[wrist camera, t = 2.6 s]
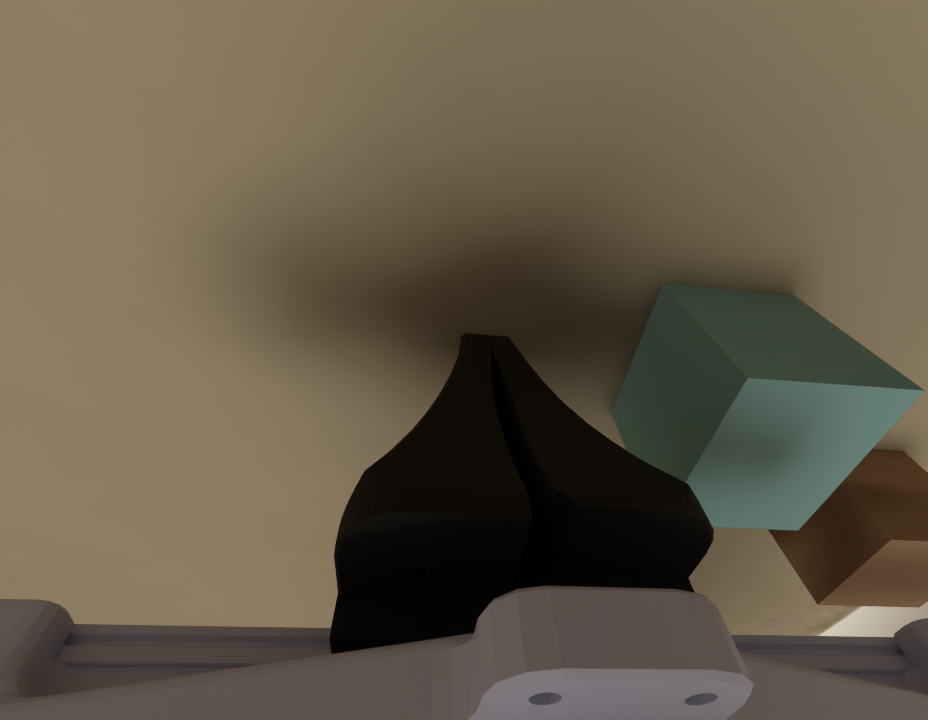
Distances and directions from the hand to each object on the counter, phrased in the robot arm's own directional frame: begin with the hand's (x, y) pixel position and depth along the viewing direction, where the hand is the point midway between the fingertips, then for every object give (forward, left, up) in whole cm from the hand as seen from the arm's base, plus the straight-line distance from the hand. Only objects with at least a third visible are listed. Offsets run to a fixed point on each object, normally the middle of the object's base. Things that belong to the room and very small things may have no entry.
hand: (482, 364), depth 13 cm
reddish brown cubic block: (-5, -15, -1) cm, 16 cm away
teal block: (0, -7, -1) cm, 7 cm away
